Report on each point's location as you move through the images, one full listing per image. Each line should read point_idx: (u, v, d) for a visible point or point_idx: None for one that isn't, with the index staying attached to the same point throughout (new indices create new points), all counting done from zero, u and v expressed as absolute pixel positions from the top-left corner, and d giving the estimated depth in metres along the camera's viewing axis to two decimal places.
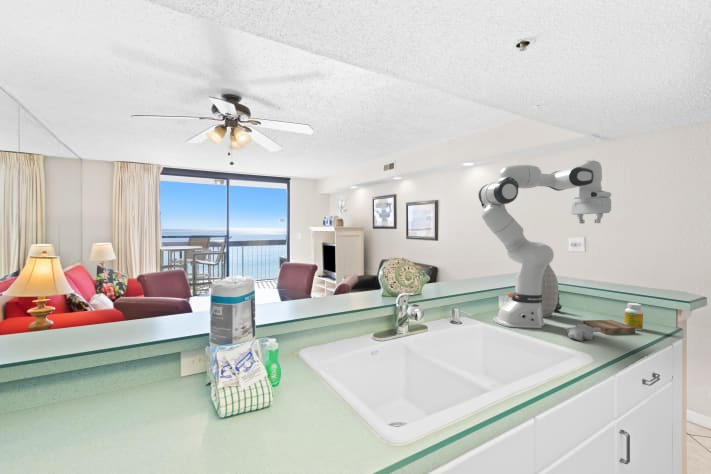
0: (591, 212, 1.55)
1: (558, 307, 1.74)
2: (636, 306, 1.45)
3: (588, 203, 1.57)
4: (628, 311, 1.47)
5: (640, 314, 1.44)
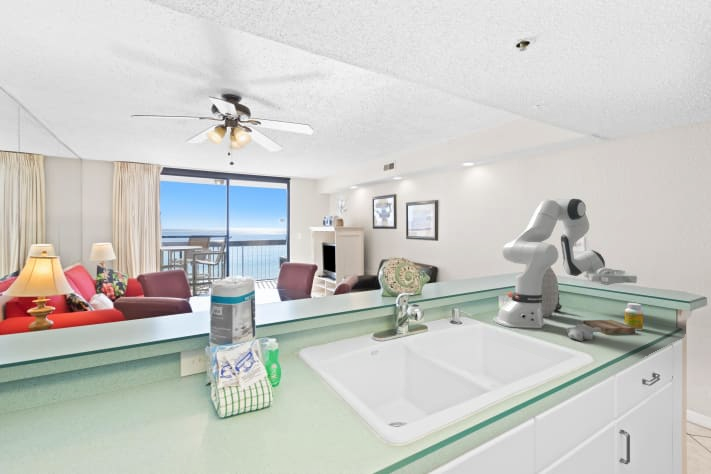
0: (621, 275, 1.63)
1: (558, 307, 1.74)
2: (636, 306, 1.45)
3: (611, 274, 1.68)
4: (628, 311, 1.47)
5: (640, 314, 1.44)
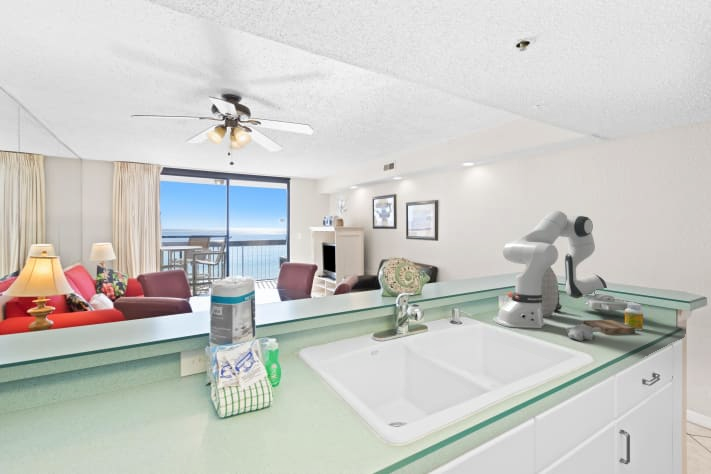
0: (621, 303, 1.62)
1: (558, 307, 1.74)
2: (636, 306, 1.45)
3: (611, 301, 1.67)
4: (628, 311, 1.47)
5: (640, 314, 1.44)
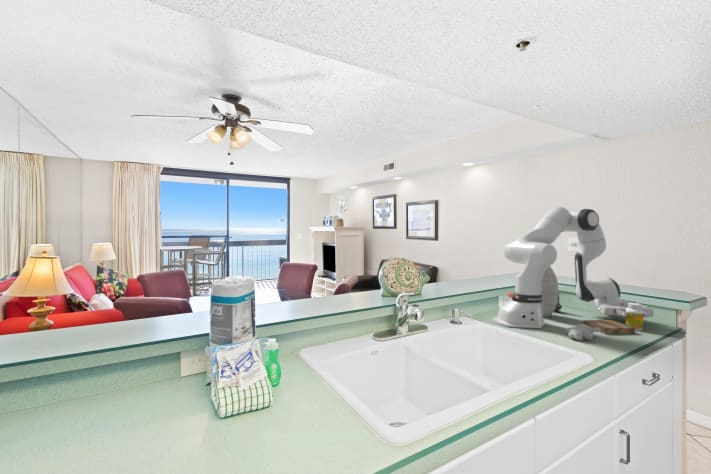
0: None
1: (558, 307, 1.74)
2: (636, 306, 1.45)
3: (625, 306, 1.56)
4: (628, 311, 1.47)
5: (641, 314, 1.44)
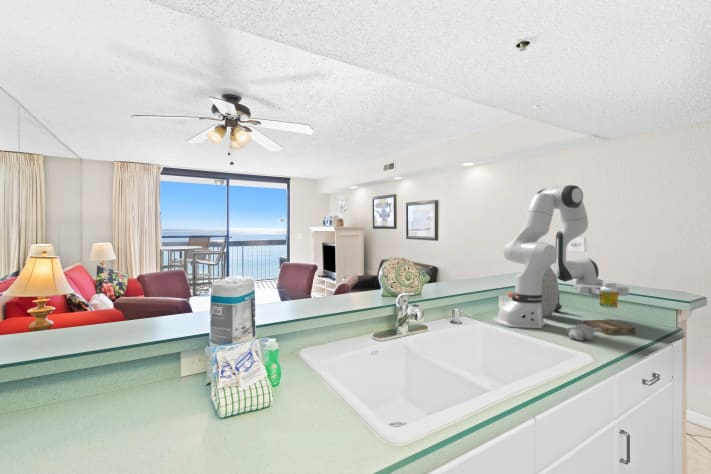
0: None
1: (558, 307, 1.74)
2: (611, 284, 1.44)
3: (601, 285, 1.54)
4: (603, 289, 1.45)
5: (615, 292, 1.43)
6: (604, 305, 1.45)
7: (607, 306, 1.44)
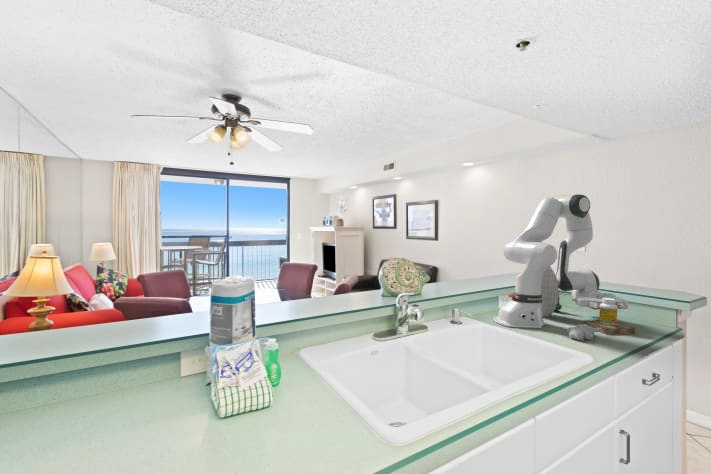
0: None
1: (558, 307, 1.74)
2: (610, 301, 1.44)
3: (600, 298, 1.54)
4: (602, 306, 1.46)
5: (614, 309, 1.43)
6: (603, 322, 1.45)
7: (606, 323, 1.44)
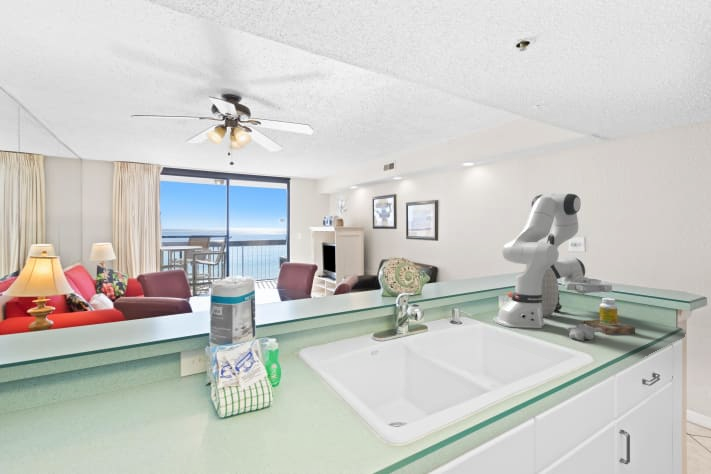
0: (596, 284, 1.62)
1: (558, 307, 1.74)
2: (610, 301, 1.44)
3: (587, 283, 1.67)
4: (602, 306, 1.46)
5: (614, 309, 1.43)
6: (603, 322, 1.45)
7: (606, 323, 1.44)
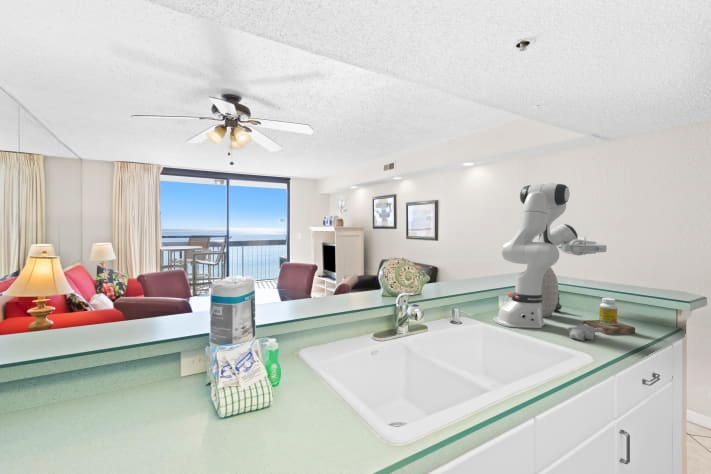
0: (591, 245, 1.70)
1: (558, 307, 1.74)
2: (610, 301, 1.44)
3: (583, 244, 1.75)
4: (602, 306, 1.46)
5: (614, 309, 1.43)
6: (603, 322, 1.45)
7: (606, 323, 1.44)
